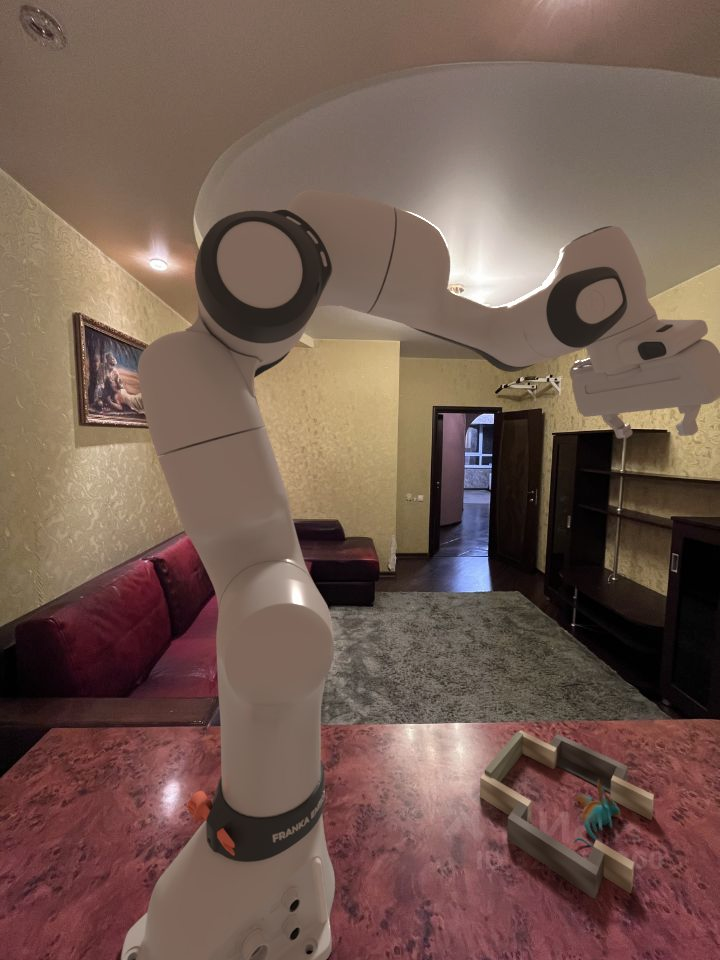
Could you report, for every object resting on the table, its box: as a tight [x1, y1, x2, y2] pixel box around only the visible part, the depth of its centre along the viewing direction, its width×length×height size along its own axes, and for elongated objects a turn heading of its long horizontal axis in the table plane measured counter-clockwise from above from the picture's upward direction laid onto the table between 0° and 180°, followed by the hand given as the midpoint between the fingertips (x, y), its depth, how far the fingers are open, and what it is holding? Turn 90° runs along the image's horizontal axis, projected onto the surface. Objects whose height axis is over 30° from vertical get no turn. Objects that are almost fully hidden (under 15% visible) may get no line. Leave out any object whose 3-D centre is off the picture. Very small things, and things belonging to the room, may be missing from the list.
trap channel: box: [479, 729, 655, 900], centre depth 59 cm, size 19×22×4 cm
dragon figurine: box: [573, 779, 622, 848], centre depth 55 cm, size 7×7×8 cm
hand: (654, 435), depth 60 cm, fingers open, 8 cm apart
